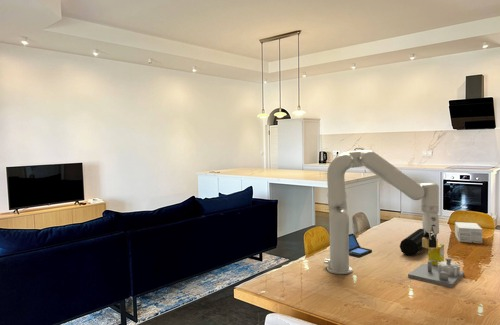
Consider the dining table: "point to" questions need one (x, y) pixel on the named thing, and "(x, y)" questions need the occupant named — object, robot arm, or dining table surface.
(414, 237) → the roller
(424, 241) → the brass gear
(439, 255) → the supplement box
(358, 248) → the handheld game console
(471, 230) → the supplement box
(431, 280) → the gear board
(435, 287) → the dining table surface
